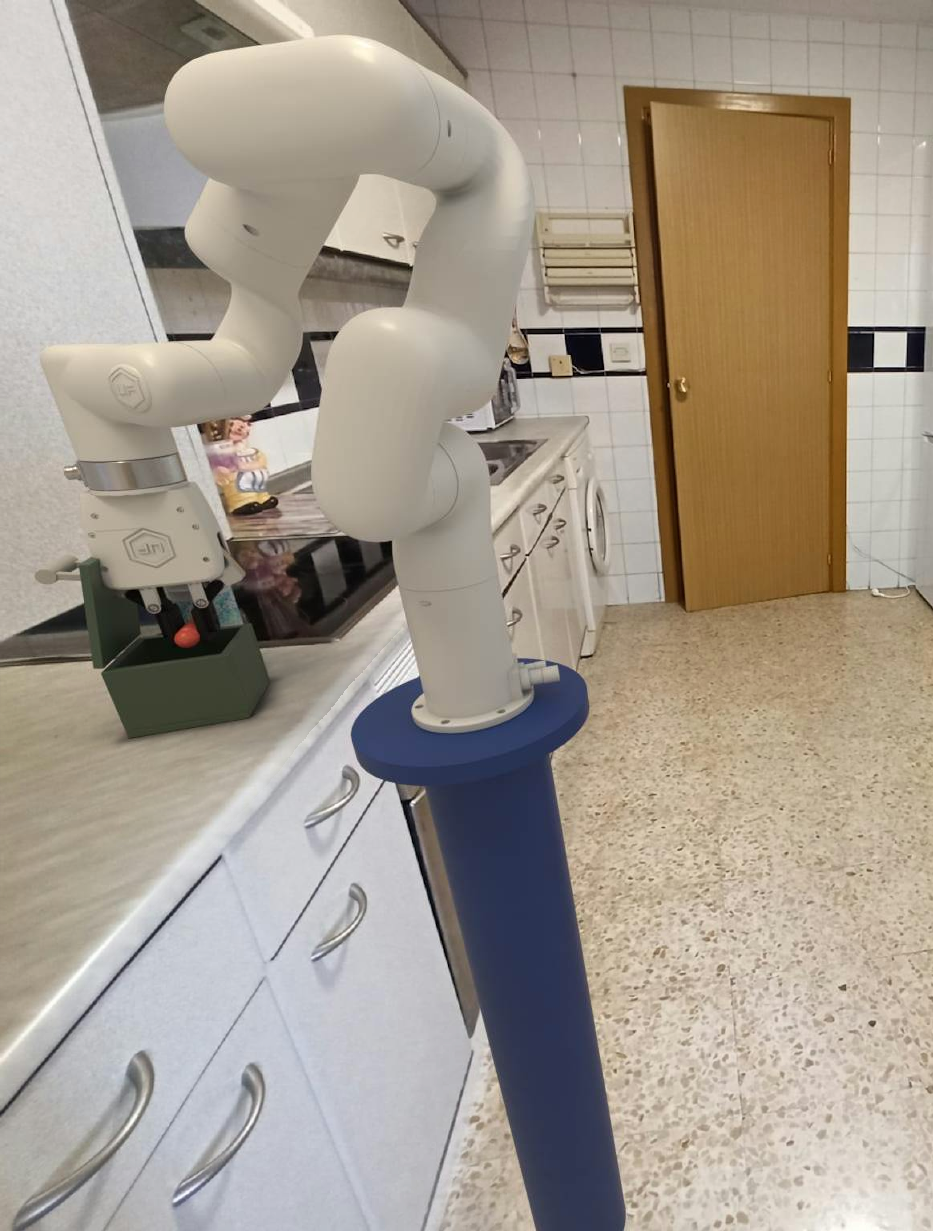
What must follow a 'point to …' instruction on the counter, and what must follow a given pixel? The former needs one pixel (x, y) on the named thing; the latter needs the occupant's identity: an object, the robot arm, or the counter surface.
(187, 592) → the bottle
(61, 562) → the bin lid
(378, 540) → the robot arm
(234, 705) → the bin
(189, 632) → the red jelly bean
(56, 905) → the counter surface
